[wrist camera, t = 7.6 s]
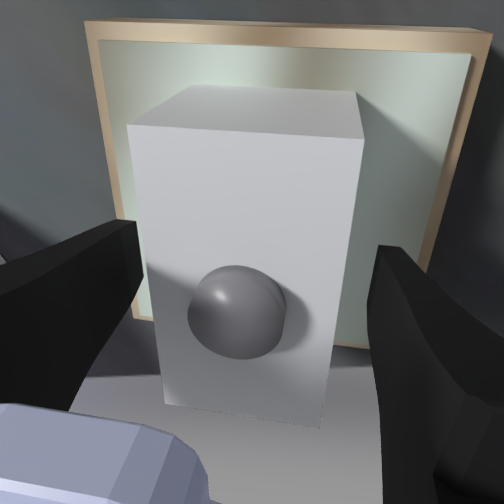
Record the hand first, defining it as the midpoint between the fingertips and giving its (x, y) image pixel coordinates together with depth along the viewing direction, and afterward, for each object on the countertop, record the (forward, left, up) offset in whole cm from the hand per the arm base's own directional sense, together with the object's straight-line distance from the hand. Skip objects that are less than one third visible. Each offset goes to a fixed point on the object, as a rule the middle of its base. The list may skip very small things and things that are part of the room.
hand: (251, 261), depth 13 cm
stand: (0, 0, -6) cm, 6 cm away
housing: (0, 0, -3) cm, 3 cm away
